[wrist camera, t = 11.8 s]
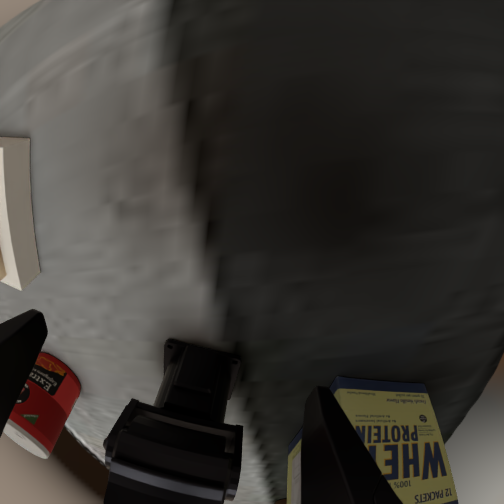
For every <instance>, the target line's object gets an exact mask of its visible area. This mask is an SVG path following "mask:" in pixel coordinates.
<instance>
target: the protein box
mask: <svg viewBox="0 0 504 504" xmlns="http://www.w3.org/2000/svg"><path fill="white" fill-rule="evenodd" d="M329 389H330V390H331V391H332V393H333V395H334V396H335V398H336V399H337V401H338V403H339V404H340V406H341V408H342V409H343V411H344V412H345V414H346V416H347V417H348V419H349V420H350V422H351V424H352V425H353V427H354V428H355V430H356V432H357V433H358V435H359V437H360V438H361V440H362V441H363V443H364V445H365V446H366V448H367V449H368V451H369V453H370V454H371V456H372V457H373V459H374V461H375V462H376V464H377V465H378V467H379V469H380V470H381V472H382V475H384V476H385V478H386V480H387V481H388V483H389V484H390V486H391V487H392V489H393V490H394V492H395V493H396V495H397V496H398V497H399V499H400V500H401V501H402V503H403V504H458V499H457V494H456V490H455V485H454V481H453V477H452V473H451V469H450V465H449V461H448V458H447V454H446V450H445V446H444V443H443V440H442V437H441V433H440V430H439V427H438V423H437V420H436V417H435V414H434V411H433V408H432V405H431V402H430V399H429V396H428V393H427V390H426V387H425V385H424V383H423V384H421V383H402V382H388V381H376V380H365V379H355V378H346V377H339V376H337V377H336V378H335V380H334V382H333V383H332V385H331V386H330V388H329ZM302 431H303V427H302V428H301V430H300V431H299V433H298V434H297V435H296V437H295V438H294V439H293V441H292V442H291V443H290V445H289V450H288V479H287V504H301V440H302Z"/></svg>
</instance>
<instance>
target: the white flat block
mask: <svg viewBox="0 0 504 504" xmlns="http://www.w3.org/2000/svg"><path fill="white" fill-rule="evenodd" d="M0 248H1V252H2V257H3V262H4V266H5V270H6V276H5V277H4V278H3V279H2V280H1V282H3V283H5V284H7V285H10V286H12V287H14V288H16V289H19V290H21V291H22V290H23V289H24V288H25V287H26V286H27V285H28V284H29V283H30V282H31V281H32V280H33V279H34V278H36V277H37V276H38V275H39V274H40V273H41V272H40V266H39V260H38V254H37V248H36V240H35V233H34V224H33V214H32V202H31V186H30V138H12V137H0Z"/></svg>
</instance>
